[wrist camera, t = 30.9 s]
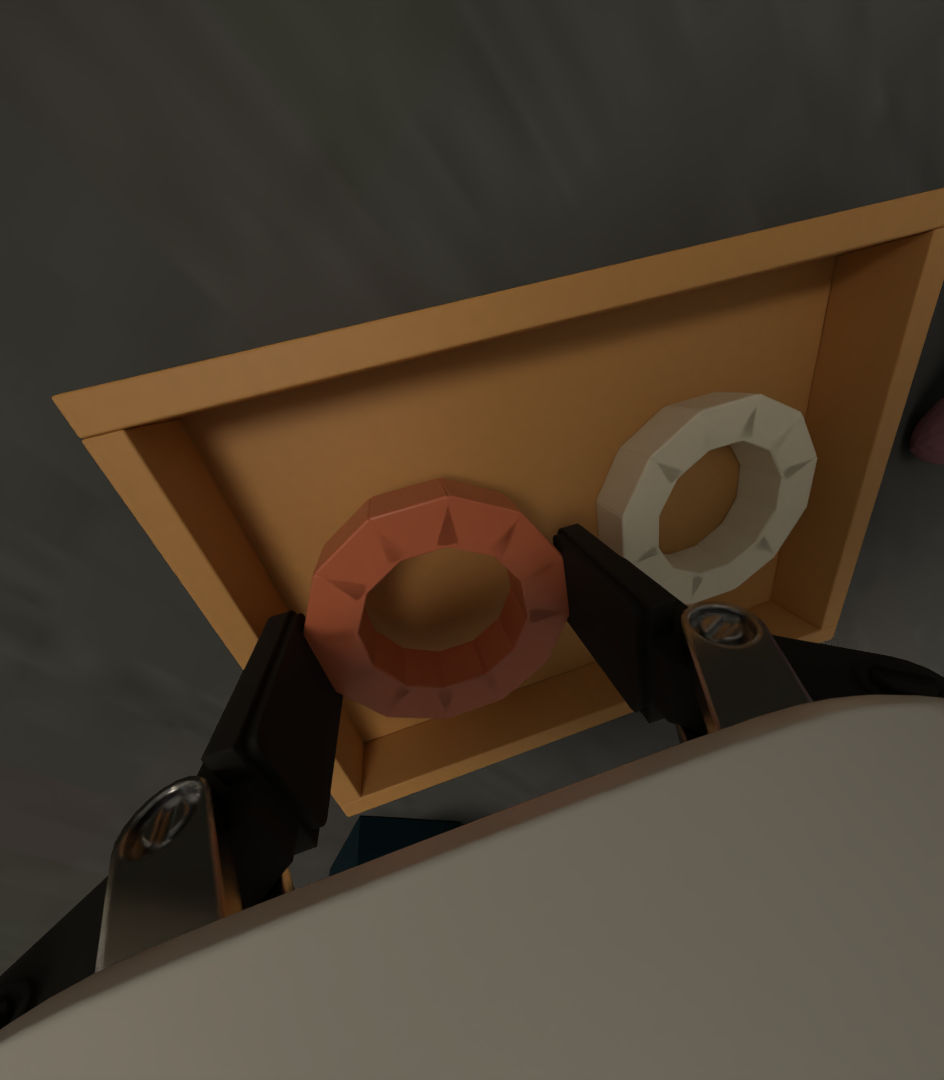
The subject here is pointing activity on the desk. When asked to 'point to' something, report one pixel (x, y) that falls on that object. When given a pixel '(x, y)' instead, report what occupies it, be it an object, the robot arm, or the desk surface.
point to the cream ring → (756, 514)
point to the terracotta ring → (412, 530)
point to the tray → (527, 451)
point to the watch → (384, 839)
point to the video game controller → (930, 436)
